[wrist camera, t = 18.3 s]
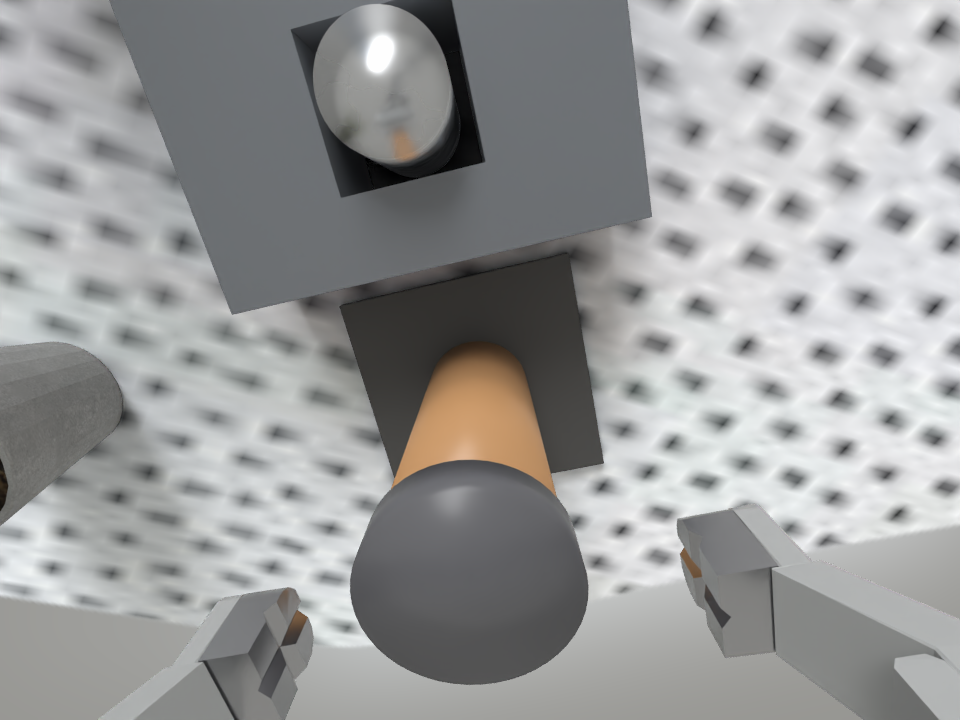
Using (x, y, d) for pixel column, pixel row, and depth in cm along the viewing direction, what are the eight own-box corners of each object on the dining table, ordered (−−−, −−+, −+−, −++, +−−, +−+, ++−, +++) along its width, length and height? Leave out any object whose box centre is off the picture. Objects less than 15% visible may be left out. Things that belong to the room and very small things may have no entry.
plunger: (353, 86, 17) (293, 25, 12) (447, 61, 17) (429, -14, 11) (381, 187, 18) (337, 172, 13) (470, 164, 18) (463, 140, 12)
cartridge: (519, 325, 20) (564, 468, 8) (540, 424, 21) (605, 664, 10) (413, 350, 20) (317, 518, 9) (441, 445, 22) (389, 700, 10)
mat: (566, 253, 19) (568, 253, 19) (601, 458, 22) (603, 463, 22) (343, 304, 20) (339, 306, 20) (404, 496, 23) (402, 502, 22)
